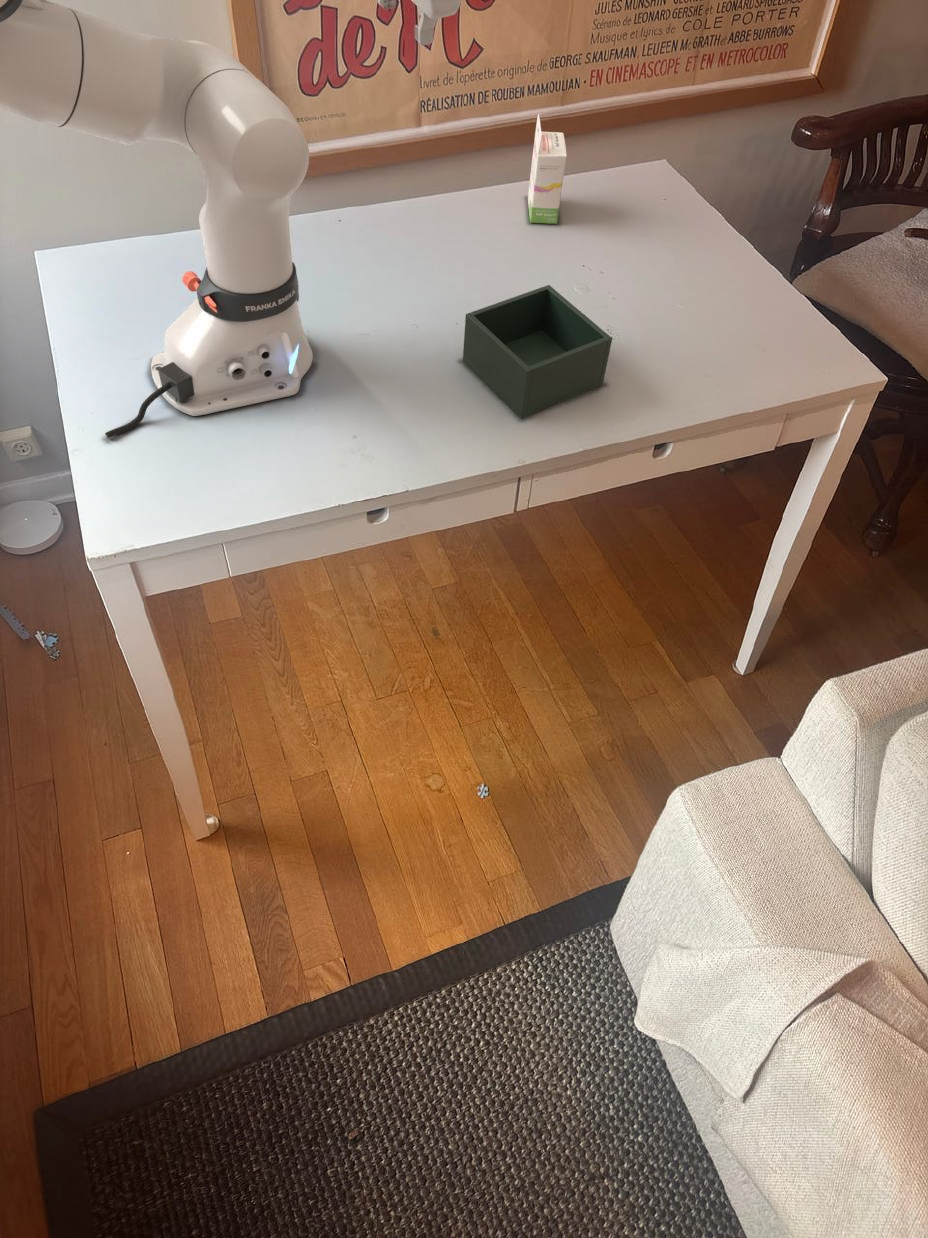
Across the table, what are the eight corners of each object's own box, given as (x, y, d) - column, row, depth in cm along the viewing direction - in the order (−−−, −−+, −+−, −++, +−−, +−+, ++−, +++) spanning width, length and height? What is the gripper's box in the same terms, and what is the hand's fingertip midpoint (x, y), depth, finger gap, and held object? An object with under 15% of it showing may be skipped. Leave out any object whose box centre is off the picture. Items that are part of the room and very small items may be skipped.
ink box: (558, 224, 164) (570, 137, 153) (529, 223, 164) (539, 136, 152) (555, 198, 170) (566, 112, 158) (527, 197, 169) (536, 110, 158)
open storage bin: (521, 418, 133) (527, 371, 127) (462, 361, 140) (465, 313, 134) (602, 384, 139) (612, 338, 132) (542, 331, 146) (549, 284, 139)
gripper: (336, -143, 109) (343, -9, 120) (423, -69, 99) (422, 68, 111) (386, -152, 111) (388, -19, 122) (476, -80, 101) (469, 57, 113)
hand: (405, 23), depth 116 cm, fingers open, 8 cm apart
